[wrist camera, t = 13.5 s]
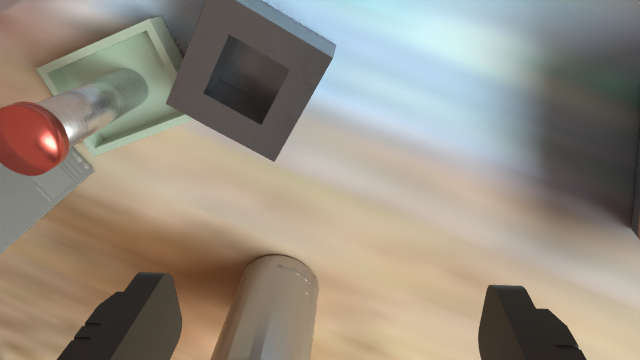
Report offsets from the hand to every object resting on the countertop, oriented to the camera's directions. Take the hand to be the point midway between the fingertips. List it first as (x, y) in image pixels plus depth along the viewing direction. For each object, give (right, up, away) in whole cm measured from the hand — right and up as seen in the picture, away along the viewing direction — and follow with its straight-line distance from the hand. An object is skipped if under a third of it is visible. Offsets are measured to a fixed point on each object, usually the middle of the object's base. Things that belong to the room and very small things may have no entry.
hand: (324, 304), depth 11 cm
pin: (-18, +12, +29) cm, 36 cm away
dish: (-18, +12, +29) cm, 36 cm away
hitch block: (-5, +14, +28) cm, 31 cm away
